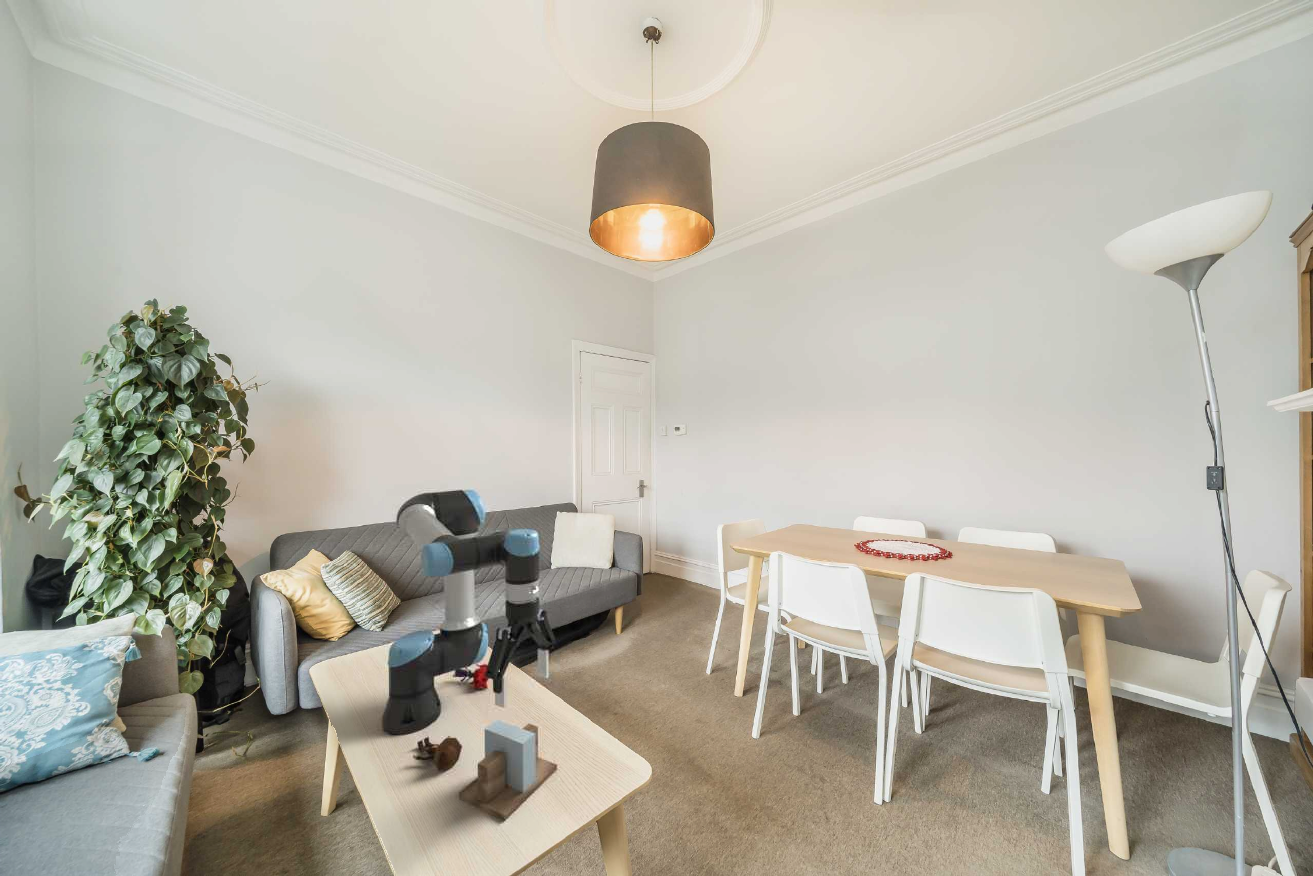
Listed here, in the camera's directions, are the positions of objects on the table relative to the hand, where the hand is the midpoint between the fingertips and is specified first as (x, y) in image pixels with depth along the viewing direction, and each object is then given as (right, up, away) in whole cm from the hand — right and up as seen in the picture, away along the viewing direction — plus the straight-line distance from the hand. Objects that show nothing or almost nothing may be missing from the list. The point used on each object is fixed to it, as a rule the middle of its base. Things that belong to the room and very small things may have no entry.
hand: (523, 690), depth 107 cm
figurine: (-30, -23, +45) cm, 59 cm away
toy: (-25, -23, +11) cm, 36 cm away
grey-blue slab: (-4, -22, +2) cm, 22 cm away
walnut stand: (-4, -23, +2) cm, 23 cm away
